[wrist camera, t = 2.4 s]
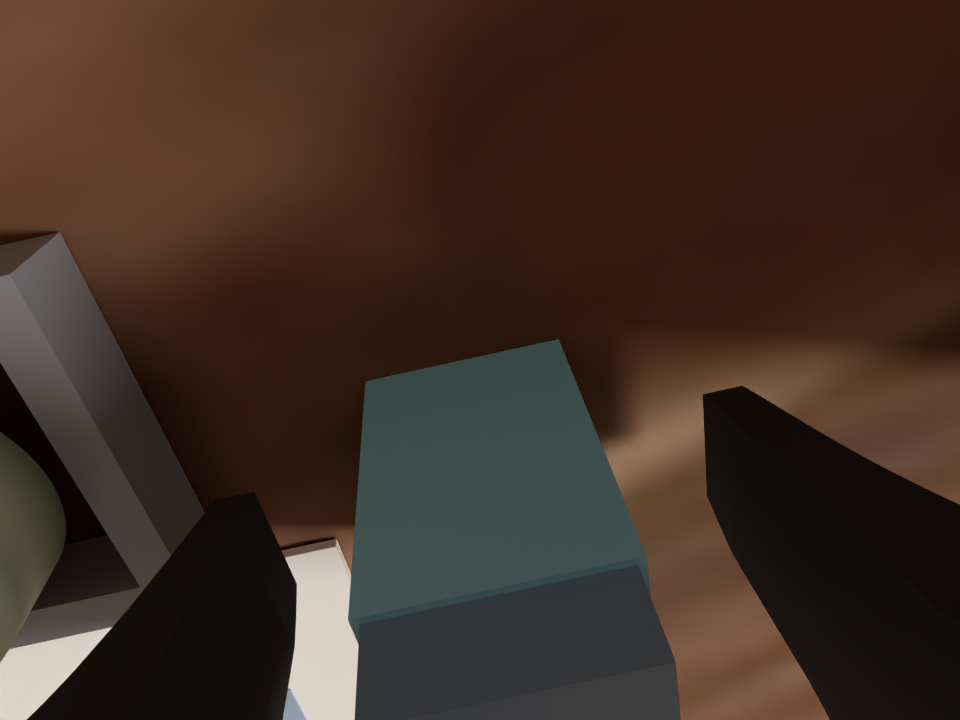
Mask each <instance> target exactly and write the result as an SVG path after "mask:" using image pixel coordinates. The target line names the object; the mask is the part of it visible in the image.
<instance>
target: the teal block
mask: <svg viewBox="0 0 960 720" xmlns="http://www.w3.org/2000/svg"><path fill="white" fill-rule="evenodd" d="M348 621H349V624H350V626H351V628H352V631H353V633H354V635H355V638H356V640H357V642H358V645H359V647H358V665H357V683H356V701H355V719H354V720H681V719H680V707H679V695H678V683H677V672H676V662H675V659H674V657H673V654H672V651H671V649H670V646H669V644H668V641H667V639H666V636H665V633H664V631H663V628H662V626H661V623H660V620H659V618H658V615H657V613H656V610H655V607H654V605H653V602H652V600H651V594H650V584H649V574H648V565H647V556H646V553H645V551H644V548H643V546H642V543H641V541H640V539H639V536H638V534H637V531H636V529H635V526H634V524H633V521H632V519H631V516H630V514H629V511H628V509H627V506H626V504H625V502H624V499H623V497H622V494H621V492H620V489H619V487H618V484H617V482H616V479H615V477H614V474H613V472H612V469H611V467H610V465H609V462H608V460H607V457H606V455H605V452H604V450H603V447H602V445H601V442H600V440H599V437H598V435H597V433H596V430H595V428H594V425H593V423H592V420H591V418H590V415H589V413H588V410H587V408H586V405H585V403H584V400H583V398H582V396H581V393H580V391H579V388H578V386H577V383H576V381H575V378H574V376H573V373H572V371H571V368H570V366H569V364H568V361H567V359H566V356H565V354H564V351H563V349H562V346H561V344H560V341H559V339H557V340H552V341H548V342H543V343H538V344H534V345H529V346H525V347H520V348H516V349H511V350H506V351H502V352H497V353H493V354H488V355H483V356H479V357H474V358H470V359H465V360H461V361H456V362H451V363H447V364H442V365H438V366H433V367H428V368H424V369H419V370H415V371H410V372H406V373H401V374H396V375H392V376H387V377H383V378H378V379H373V380H369V381H366V382H365V395H364V409H363V422H362V436H361V449H360V463H359V476H358V490H357V504H356V517H355V531H354V544H353V558H352V571H351V585H350V598H349V612H348Z"/></svg>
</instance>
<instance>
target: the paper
mask: <svg viewBox="0 0 960 720" xmlns="http://www.w3.org/2000/svg"><path fill="white" fill-rule="evenodd" d="M282 553H283V555H284V557H285V559H286V561H287V564H288V566H289V568H290V570H291V572H292V574H293V577H294V579H295V581H296V583H297V604H296V631H295V648H294V654H293V661H292V667H291V673H290V679H289V685H288V691H287V697H286V703H285V709H284V715H283V720H354V719H355V701H356V683H357V665H358V647H359V645H358V642H357V640H356V638H355V635H354V633H353V631H352V628H351V626H350V624H349V621H348V612H349V598H350V585H351V573H350V571H349V568H348V566H347V563H346V561H345V558H344V556H343V553H342V551H341V548H340V546H339V543H338V541H337V539H333V540H328V541H324V542H319V543H315V544H310V545H305V546H301V547H296V548H291V549H287V550H282ZM111 628H112V627H110V628H106V629H101V630H96V631H92V632H87V633H82V634H78V635H73V636H68V637H64V638H59V639H55V640H50V641H45V642H41V643H36V644H31V645H27V646H22V647H17V648H13V649H9V651H8V652H7V654H6V655H5V657H4V658H3V660H2V661H1V662H0V720H27V719H28V718H29V717H30V716H31V715H32V714H33V713H34V712H35V711H36V710H37V709H38V708H39V707H40V706H41V705H42V704H43V703H44V702H45V701H46V700H47V699H48V698H49V697H50V696H51V695H52V694H53V693H54V692H55V691H56V689H57V688H58V687H59V686H60V685H61V684H62V683H63V682H64V681H65V680H66V679H67V678H68V677H69V676H70V675H71V674H72V672H73V671H74V670H75V669H76V668H77V667H78V666H79V665H80V664H81V662H82V661H83V660H84V659H85V658H86V657H87V656H88V654H89V653H90V652H91V651H92V650H93V649H94V648H95V646H96V645H97V644H98V643H99V642H100V641H101V640H102V638H103V637H104V636H105V635H106V634H107V633H108V631H109V630H110V629H111Z"/></svg>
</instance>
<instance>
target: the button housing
mask: <svg viewBox="0 0 960 720" xmlns="http://www.w3.org/2000/svg"><path fill="white" fill-rule="evenodd" d="M0 363H1V364H2V366H3V368H4V369H5V371H6V372H7V374H8V376H9V377H10V379H11V380H12V382H13V384H14V385H15V387H16V388H17V390H18V392H19V393H20V395H21V396H22V398H23V400H24V401H25V403H26V405H27V406H28V408H29V409H30V411H31V413H32V414H33V416H34V417H35V419H36V421H37V422H38V424H39V425H40V427H41V429H42V430H43V432H44V433H45V435H46V437H47V438H48V440H49V441H50V443H51V445H52V446H53V448H54V449H55V451H56V453H57V454H58V456H59V457H60V459H61V461H62V462H63V464H64V465H65V467H66V469H67V470H68V472H69V474H70V475H71V477H72V478H73V480H74V482H75V483H76V485H77V486H78V488H79V490H80V491H81V493H82V494H83V496H84V498H85V499H86V501H87V502H88V504H89V506H90V507H91V509H92V510H93V512H94V514H95V515H96V517H97V518H98V520H99V522H100V523H101V525H102V526H103V528H104V530H105V531H106V533H107V534H108V535H105V536H100V537H96V538H91V539H86V540H82V541H77V542H73V543H68V544H64V549H63V551H62V553H61V556H60V558H59V560H58V562H57V564H56V566H55V568H54V570H53V571H52V573H51V575H50V577H49V579H48V580H47V582H46V584H45V586H44V588H43V589H42V591H41V593H40V595H39V597H38V599H37V600H36V602H35V604H34V606H33V608H32V609H31V611H30V613H29V615H28V617H27V618H26V620H25V622H24V624H23V626H22V627H21V629H20V631H19V633H18V635H17V637H16V638H15V640H14V642H13V644H12V646H11V647H10V649H13V648H17V647H22V646H27V645H31V644H36V643H41V642H45V641H50V640H55V639H59V638H64V637H68V636H73V635H78V634H82V633H87V632H92V631H96V630H101V629H106V628H110V627H113V626H114V625H115V623H116V622H117V621H118V620H119V619H120V618H121V617H122V615H123V614H124V613H125V612H126V611H127V610H128V608H129V607H130V606H131V605H132V604H133V602H134V601H135V600H136V599H137V597H138V596H139V595H140V594H141V592H142V591H143V590H144V589H145V587H146V586H147V585H148V584H149V583H150V581H151V580H152V579H153V578H154V576H155V575H156V574H157V573H158V571H159V570H160V569H161V568H162V566H163V565H164V564H165V563H166V561H167V560H168V559H169V558H170V556H171V555H172V554H173V552H174V551H175V550H176V549H177V547H178V546H179V545H180V544H181V542H182V541H183V540H184V538H185V537H186V536H187V535H188V533H189V532H190V531H191V530H192V528H193V527H194V526H195V525H196V523H197V522H198V521H199V520H200V518H201V517H202V516H203V515H204V513H205V511H204V510H203V508H202V506H201V504H200V502H199V500H198V498H197V496H196V494H195V492H194V490H193V488H192V486H191V484H190V483H189V481H188V479H187V477H186V475H185V473H184V471H183V469H182V467H181V465H180V463H179V461H178V459H177V457H176V456H175V454H174V452H173V450H172V448H171V446H170V444H169V442H168V440H167V438H166V436H165V434H164V432H163V430H162V428H161V427H160V425H159V423H158V421H157V419H156V417H155V415H154V413H153V411H152V409H151V407H150V405H149V403H148V401H147V400H146V398H145V396H144V394H143V392H142V390H141V388H140V386H139V384H138V382H137V380H136V378H135V376H134V374H133V373H132V371H131V369H130V367H129V365H128V363H127V361H126V359H125V357H124V355H123V353H122V351H121V349H120V347H119V345H118V344H117V342H116V340H115V338H114V336H113V334H112V332H111V330H110V328H109V326H108V324H107V322H106V320H105V318H104V317H103V315H102V313H101V311H100V309H99V307H98V305H97V303H96V301H95V299H94V297H93V295H92V293H91V291H90V290H89V288H88V286H87V284H86V282H85V280H84V278H83V276H82V274H81V272H80V270H79V268H78V266H77V264H76V262H75V261H74V259H73V257H72V255H71V253H70V251H69V249H68V247H67V245H66V243H65V241H64V239H63V237H62V235H61V234H60V232H58V233H53V234H49V235H44V236H40V237H35V238H31V239H26V240H22V241H17V242H13V243H8V244H4V245H0Z"/></svg>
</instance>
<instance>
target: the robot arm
mask: <svg viewBox="0 0 960 720" xmlns="http://www.w3.org/2000/svg"><path fill="white" fill-rule="evenodd" d="M703 409H704V433H705V456H706V480H707V496H708V499H709V501H710V503H711V506H712V508H713V510H714V513H715V515H716V517H717V520H718V522H719V524H720V527H721V529H722V531H723V533H724V536H725V538H726V540H727V542H728V544H729V547H730V549H731V551H732V553H733V555H734V557H735V558H736V560H737V562H738V563H739V565H740V567H741V569H742V570H743V572H744V574H745V575H746V577H747V579H748V580H749V582H750V584H751V585H752V587H753V589H754V590H755V592H756V594H757V595H758V597H759V599H760V600H761V602H762V604H763V605H764V607H765V609H766V610H767V612H768V614H769V615H770V617H771V619H772V620H773V622H774V624H775V625H776V627H777V629H778V630H779V632H780V633H781V635H782V637H783V638H784V640H785V642H786V643H787V645H788V647H789V648H790V650H791V652H792V653H793V655H794V657H795V658H796V660H797V662H798V663H799V665H800V667H801V668H802V670H803V672H804V673H805V675H806V677H807V678H808V680H809V682H810V683H811V685H812V687H813V689H814V691H815V693H816V694H817V696H818V698H819V700H820V702H821V704H822V705H823V707H824V709H825V711H826V713H827V715H828V717H829V719H830V720H960V505H959V504H957V503H955V502H953V501H951V500H948V499H946V498H944V497H942V496H940V495H937V494H935V493H933V492H931V491H929V490H927V489H925V488H923V487H921V486H919V485H917V484H915V483H913V482H911V481H909V480H907V479H905V478H903V477H901V476H899V475H897V474H895V473H893V472H891V471H889V470H887V469H885V468H883V467H881V466H880V465H878V464H876V463H874V462H872V461H870V460H868V459H866V458H865V457H863V456H861V455H859V454H857V453H856V452H854V451H852V450H850V449H848V448H847V447H845V446H843V445H841V444H840V443H838V442H836V441H834V440H832V439H831V438H829V437H827V436H826V435H824V434H822V433H820V432H819V431H817V430H815V429H814V428H812V427H810V426H809V425H807V424H805V423H804V422H802V421H800V420H799V419H797V418H795V417H794V416H792V415H790V414H789V413H787V412H785V411H784V410H782V409H780V408H779V407H777V406H776V405H774V404H772V403H771V402H769V401H767V400H766V399H764V398H762V397H761V396H759V395H757V394H756V393H754V392H752V391H751V390H749V389H747V388H745V387H743V386H739V387H735V388H730V389H726V390H721V391H716V392H712V393H707V394H703ZM296 604H297V583H296V581H295V579H294V577H293V574H292V572H291V570H290V568H289V566H288V564H287V561H286V559H285V557H284V555H283V553H282V551H281V548H280V546H279V544H278V542H277V540H276V538H275V535H274V533H273V531H272V529H271V527H270V525H269V523H268V520H267V518H266V516H265V514H264V512H263V510H262V507H261V505H260V503H259V501H258V499H257V497H256V494H255V492H251V493H247V494H242V495H237V496H233V497H228V498H224V499H219V500H216V501H215V502H214V503H213V504H212V505H211V506H210V507H209V509H208V510H207V511H206V512H205V513H204V515H203V516H202V517H201V518H200V520H199V521H198V522H197V523H196V525H195V526H194V527H193V528H192V530H191V531H190V532H189V533H188V535H187V536H186V537H185V538H184V540H183V541H182V542H181V544H180V545H179V546H178V547H177V549H176V550H175V551H174V552H173V554H172V555H171V556H170V558H169V559H168V560H167V561H166V563H165V564H164V565H163V566H162V568H161V569H160V570H159V571H158V573H157V574H156V575H155V576H154V578H153V579H152V580H151V581H150V583H149V584H148V585H147V586H146V587H145V589H144V590H143V591H142V592H141V594H140V595H139V596H138V597H137V599H136V600H135V601H134V602H133V604H132V605H131V606H130V607H129V608H128V610H127V611H126V612H125V613H124V614H123V615H122V617H121V618H120V619H119V620H118V621H117V622H116V623H115V625H114V626H113V627H112V628H111V629H110V630H109V631H108V633H107V634H106V635H105V636H104V637H103V638H102V640H101V641H100V642H99V643H98V644H97V645H96V646H95V648H94V649H93V650H92V651H91V652H90V653H89V654H88V656H87V657H86V658H85V659H84V660H83V661H82V662H81V664H80V665H79V666H78V667H77V668H76V669H75V670H74V671H73V672H72V674H71V675H70V676H69V677H68V678H67V679H66V680H65V681H64V682H63V683H62V684H61V685H60V686H59V687H58V688H57V689H56V691H55V692H54V693H53V694H52V695H51V696H50V697H49V698H48V699H47V700H46V701H45V702H44V703H43V704H42V705H41V706H40V707H39V708H38V709H37V710H36V711H35V712H34V713H33V714H32V715H31V716H30V717H29V718H28V719H27V720H283V715H284V709H285V703H286V697H287V691H288V685H289V679H290V673H291V667H292V661H293V654H294V648H295V631H296Z"/></svg>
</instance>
